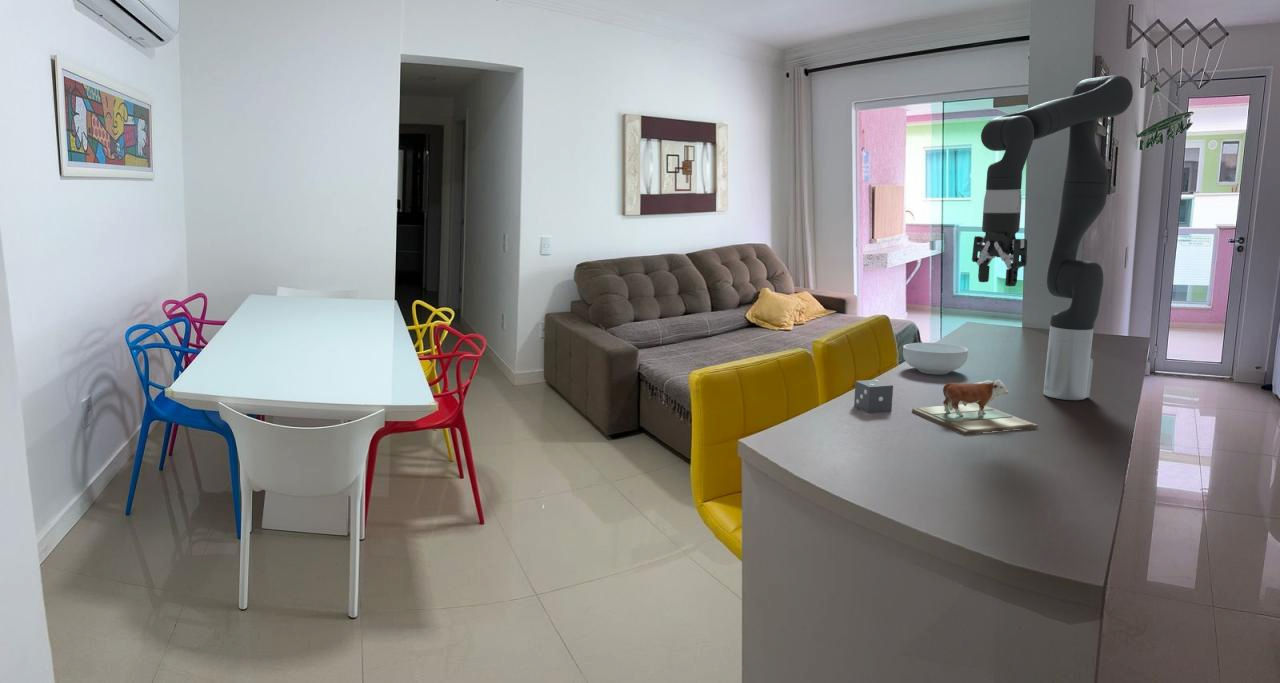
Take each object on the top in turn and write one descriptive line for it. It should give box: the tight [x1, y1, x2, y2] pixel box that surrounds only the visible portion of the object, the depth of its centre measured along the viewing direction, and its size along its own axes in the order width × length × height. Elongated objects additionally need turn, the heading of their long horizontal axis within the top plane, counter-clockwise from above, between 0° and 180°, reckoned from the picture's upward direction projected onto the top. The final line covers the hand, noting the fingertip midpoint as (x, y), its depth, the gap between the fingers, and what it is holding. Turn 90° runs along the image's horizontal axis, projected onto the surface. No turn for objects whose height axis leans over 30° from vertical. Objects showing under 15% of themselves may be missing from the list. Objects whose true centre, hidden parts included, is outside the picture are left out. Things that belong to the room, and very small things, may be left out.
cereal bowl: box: [902, 342, 969, 376], centre depth 216 cm, size 17×17×7 cm
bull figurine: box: [942, 379, 1009, 417], centre depth 169 cm, size 4×13×8 cm, turn 82°
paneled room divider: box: [911, 403, 1039, 436], centre depth 169 cm, size 18×18×1 cm
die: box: [853, 379, 894, 414], centre depth 177 cm, size 6×6×6 cm
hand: (996, 283), depth 173 cm, fingers open, 8 cm apart
